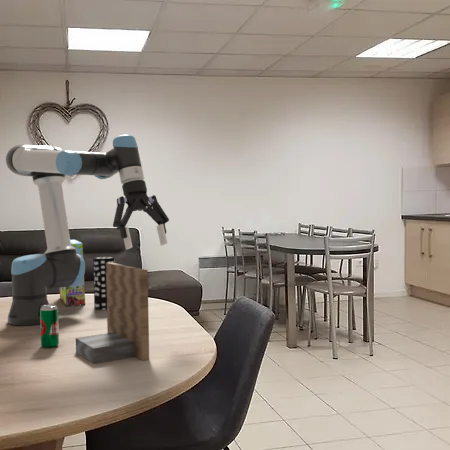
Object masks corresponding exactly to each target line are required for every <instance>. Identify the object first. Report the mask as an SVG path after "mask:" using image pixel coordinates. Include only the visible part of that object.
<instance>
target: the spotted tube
mask: <svg viewBox="0 0 450 450" xmlns="http://www.w3.org/2000/svg"><path fill="white" fill-rule="evenodd" d="M115 258H116V257H114V256H97V257H93V263H92V265H93V299H94V302H93V303H94V307H93V308H94V309H95V310H98V311H105V310H106V311H107V286H106V263H111V262H113V263H116V261H115V260H116V259H115Z"/></svg>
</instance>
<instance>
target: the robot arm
mask: <svg viewBox="0 0 450 450" xmlns="http://www.w3.org/2000/svg"><path fill="white" fill-rule="evenodd" d="M112 147H113V148H112V149H110V150H108V151H106V152H96V151H81V150H80V151H79V150H71V149H69V150H68V149H67V150H64V149H62V148H61V147H58V146H54V145H53V146H52V145H38V144H37V145H36V144H35V145H33V144H18V145H15V146H13V147H11V148H10V149H9V150H8V151H7V153H6V156H5V163H6V166H7V168H8V169H9V170H10V171H11V172H12V173H14V174H15V175H18V176H22V177H32V183H33V184H34V185H35V186H37V188H38V194H39V201H40V207H41V215H42V221H43V227H44V228H43V229H44V234H45V235H44V236H45V241H46V247H47V249H46V250H45V252H44V253H36V254H35V253H34V254H27V255H23V256H18V257H16V258H14V259H13V261H12V262H11V271H10V273H11V289H12V290H11V296H12V301H11V304H10V308H9V311H8V315H7V323H9V325H11V324H12V325H13V326H35V325H40V309H41V306H43V305H50V303H49V300H48V290H51V289H60V288H61V287H70V286H73V285H77V284H78V283H80V282H81V280H82V278H83V277H84V278H85V273H86V261H85V260H84V257H83V258H82V256H81V255H78V254H77V253H76V249H75V248H74V247H73V246H71V242H70V240H71V237H70V235H71V234H70V230H69V224H68V223H69V222H68V217H67V212H66V211H67V210H66V204H65V197H64V192H63V191H64V190H63V185H62V184H63V182H64V181H65V180H66V176H75V175H76V176H93V177H95V178H97V179H99V180H106V179H109V178H111V177H114V175H116V174H118V175H119V179H120V183H121V184H122V186H121V189H122V192H123V193H122V194H123V196H119V197H118V198H117V199H116V209H115V214H114V217H113V218H114V219H113V222H112V226H113V228H117V230H119V234H120V236H121V239H123V243H124V247H125V250H129V249H132V248H133V247H134V246H133V243H132V237H131V232H130V228H129V226H127V224H128V222H129V220H130V219H131V216H132V215H133V212H137V211H139V212H141V211H143V212H144V213H146V214H147V215H148V216H149V217H150V218H151V219H152V220H153V221H154V222H155V223H156V224H157V226H156V230H157V235H158V238H159V243H160V246H164V245H167V244H168V239H167V235H166V234H167V228H166V224H167V223H168V222H169V221H170V219H169V217H168V215H167V214H166V213H165V211H164V209H163V207H162V206H161V205H160V203H159V201H158V198H157V196H156V195H155V194H153V195H151V196H148V194H147V192H148V189H147V184H146V181H145V180H144V179H145V176H144V170H143V165H142V161H141V158H140V153H139V147H138V144H137V140H136V138H135V136H134V135H132V134H123V135H122V134H121V135H118V136H116V137H114V138H113V140H112ZM125 204H126V205H127V207H126V209H125ZM124 209H125V211H124Z"/></svg>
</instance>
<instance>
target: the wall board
mask: <svg viewBox="0 0 450 450" xmlns="http://www.w3.org/2000/svg"><path fill="white" fill-rule="evenodd" d="M148 271H149V270H148V269H144V268H141V267H135V266H130V265H125V264H121V263H116V262H115V263H113V262H111V263H106V286H107V310H106V319H107V320H106V322H107V333H99V334H94V335H86V336H81V337H75V353H77V354H78V355H79V356H82V357H83V358H85V359H87V360H88V361H89V362H91V363H92V364H99V363H105V362H111V361H115V360H116V361H117V360H121V359H126V358H133V356H134V357H135V358H137V359H138V360H141V361H148V360H150V333H149V331H150V330H149V329H150V328H149V325H150V324H149V322H150V321H149V276H148V275H149V274H148Z"/></svg>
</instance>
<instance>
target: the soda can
mask: <svg viewBox="0 0 450 450" xmlns="http://www.w3.org/2000/svg"><path fill="white" fill-rule="evenodd" d="M39 325H40V326H39V327H40V328H39V329H40V346H41V347H42V348H45V349H51V348H52V349H53V348H56V347H58V345H59V344H60V342H59V341H60V337H59V335H60V334H59V333H60V331H59V330H60V329H59V308H58V307H57V304H50V303H49V305H43V306H41V309H40V324H39Z"/></svg>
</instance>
